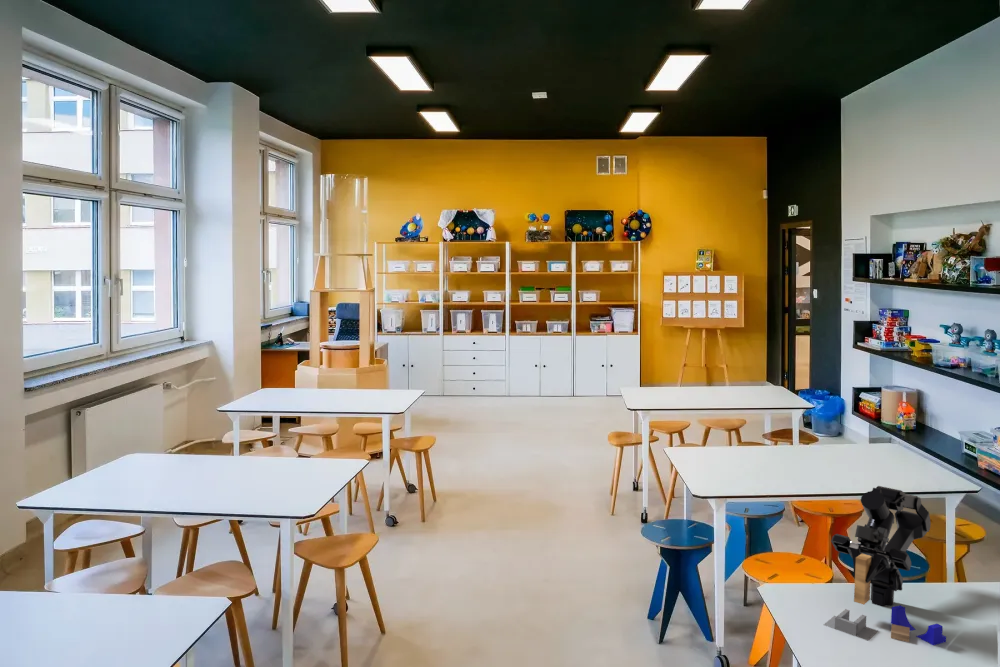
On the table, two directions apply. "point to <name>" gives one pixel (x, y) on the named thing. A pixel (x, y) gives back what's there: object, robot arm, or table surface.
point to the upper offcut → (900, 632)
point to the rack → (851, 625)
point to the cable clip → (930, 636)
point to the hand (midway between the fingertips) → (860, 580)
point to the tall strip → (862, 579)
